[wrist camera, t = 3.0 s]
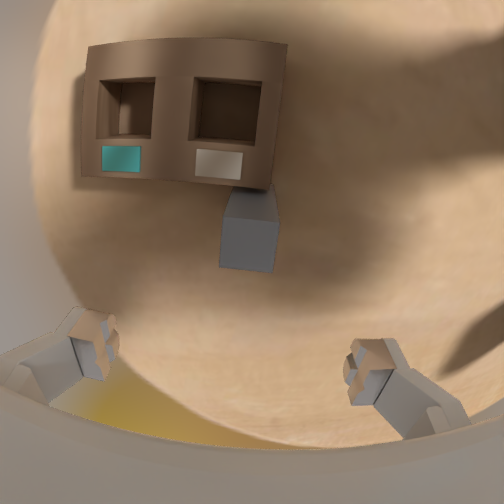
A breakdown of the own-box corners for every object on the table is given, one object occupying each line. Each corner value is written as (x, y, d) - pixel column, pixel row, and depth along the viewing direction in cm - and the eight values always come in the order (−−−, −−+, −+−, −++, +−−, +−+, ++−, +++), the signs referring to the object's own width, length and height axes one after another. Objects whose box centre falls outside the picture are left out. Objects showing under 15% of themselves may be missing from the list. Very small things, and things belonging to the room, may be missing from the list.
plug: (273, 184, 24) (280, 222, 16) (268, 219, 26) (272, 273, 17) (235, 180, 24) (222, 216, 16) (232, 215, 25) (219, 267, 17)
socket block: (283, 55, 20) (287, 43, 16) (267, 177, 24) (269, 190, 20) (111, 53, 19) (87, 46, 16) (104, 166, 24) (80, 176, 20)
